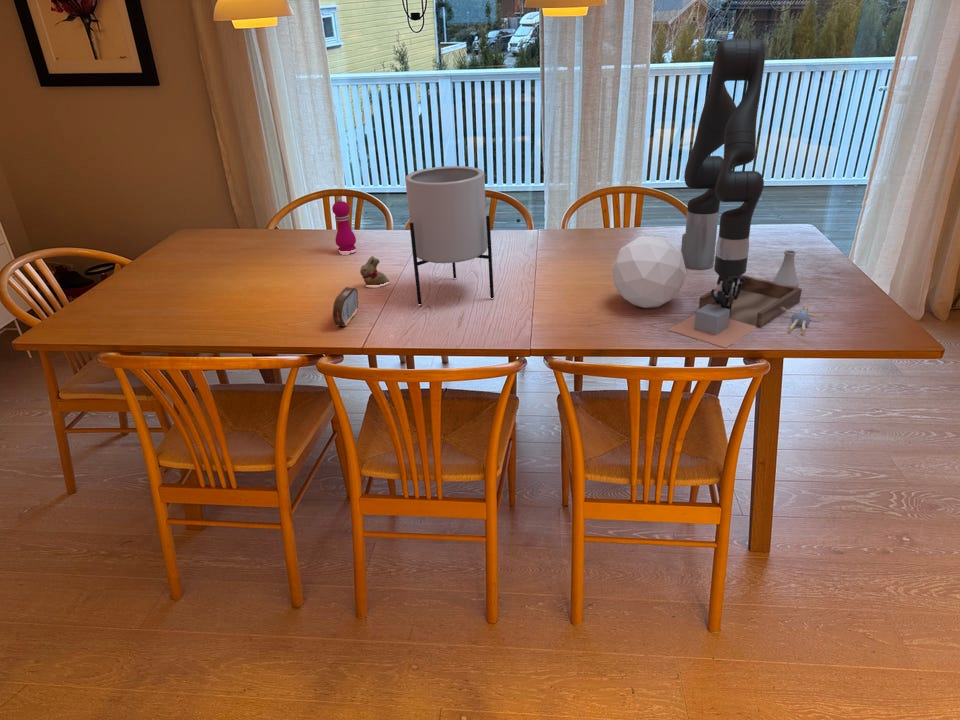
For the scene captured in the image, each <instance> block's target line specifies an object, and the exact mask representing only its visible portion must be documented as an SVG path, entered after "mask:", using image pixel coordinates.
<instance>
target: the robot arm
mask: <svg viewBox="0 0 960 720" xmlns="http://www.w3.org/2000/svg"><path fill="white" fill-rule="evenodd" d="M765 62H766V48H765V43H764V42H763V40H762V39H759V38H727V39H724V40H722V41H720V42H719V44H718V46H717V49H716V51H715V54H714V59H713V65H712V69H711V74H710V75H711V76H710V80H709V84H708V91H707V95H706V98H705V101H704V104H703V109H702V111H701V115H700V117H699V122H698V127H697V131H696V136H695V139H694V143H693V146H692V148H691V151H690V154H689V156H688V159H687V162H686V164H685V168H684V176H683V177H684V178H683V179H684V183H685V186H686V187H687V188H690V189H695V190H696V189H697V190H698V189H707V190H706V191H705V192H704V193H703V194H700V195H699V196H695V197H694V198H691V199H690V200H688V201H687V209H686V221H685V233H682V237H681V245H680V247H681V249H680V251H681V252H682V255H683V260H684V264H685V268H688V269H691V270H692V269H693V270H705V269H706V270H707V269H710V268H712V267H713V269H714V272H715V273H716V274H717V275H718V278H717V282H716V285H717V286H716V288H714V289H716V290H714V289H713V288H712V290H710V291H711V294H712V296H713V299H714V301H715V303H716V304H718V305H721V307H723V308H726V309H730V315H731V307H732V304H733V303H734V300H737V298H738V295H739V293H740V291H741V289H742V286H743V284H744V282H745V278H741V277H740V276H741V275H744V274H746V273H747V268H748V267H747V266H748V260H749V259H748V258H749V251H750V232H751V225H752V224H751V223H752V218H753V216H754V213H755V209H756V208H757V207H756V206H757V205H758V202H759V200H760V198H761V196H762V193H763V190H764V185H765V179H764V177H763V175H762V173H760V172H759V171H757V170H739V171H738V170H736V171H735V170H734V171H733V169H735V168H736V167H740V166H744V165H747V164H750V163H752V162H753V161H754V160H755V158H756V154H757V153H756V150H757V149H756V146H757V145H756V144H757V143H756V142H757V141H756V140H757V120H758V112H759V105H760V99H761V93H762V85H763V77H764V71H765V70H764V69H765ZM727 81H728V82H729V81H730V82H733V81H734V82H737V81H739V82H741V81H746V82H747V83H746V84H747V86H746V90H745V93H744V95H743V97H742V98H741V101H739V103H738V104H737V105H736V103H735V101H734V99H733V98H732V97H731V95H730V93H729V92H728V89H727V87H726V84H725V83H726V82H727ZM721 147H723V156H720V155H711V154H713V153H714V152H716V151H717V150H718V149H720V148H721ZM721 202H722V203H723V202H724V203H742V204H741V205H740V206H738V207H737V208H733V209H732V208H731V209H729V210H725V211H723V212H722V214H721V215H720V205H721ZM719 215H720V218H719ZM718 224H719V229H718ZM717 233H718V237H717ZM730 315H729V317H730Z"/></svg>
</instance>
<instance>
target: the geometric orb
mask: <svg viewBox="0 0 960 720" xmlns="http://www.w3.org/2000/svg"><path fill="white" fill-rule="evenodd" d="M686 269H687V267H686V266H685V264H684V260H683V255H682V252H681V249H679V248H677V247H676V246H675V245H673V244H672V243H671V242H670V241H669V240H667V239H666V238H665V237H663V236H659V237H658V236H644V235H642V236H641V235H640V236H638V237H637V238H635V239H633V240H632V241H631V242H629V243H627V244H626V245H624V246H622V247H621V248H620V250H619V251H618V254H617V256H616V259H615V262H614V264H613V266H612V278H613V279H612V280H613V284H614V287H615V289H616V290H617V292H618V293H619V294H620V295H621V296H622V297H623V298H624V300H626V301H627V302H629V303H630V304H632V305H634V306H636V307H640V308H646V309H647V308H650V309H651V308H659V307H661V306H662V305H664V304H666V303H667V302H669V301H672V300H673V299H674V298H676V297H678V296H679V293H680V291H681V289H682V286H683V285H684V283H685V280H686V279H687V278H686V277H687V276H688V273H687V270H686Z"/></svg>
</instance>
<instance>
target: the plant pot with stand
mask: <svg viewBox="0 0 960 720" xmlns="http://www.w3.org/2000/svg"><path fill="white" fill-rule="evenodd" d="M404 182H405V188H406V198H407V205H408V207H407V208H408V215H409V232H410V241H411V242H410V243H411V249H412V259H413V260H412V261H413V270H414V277H415V287H416V297H417V305H418V304H422V293H421V284H420V275H419V266H421V265H425V264H427V263H434V264H452V265H451V266H452V274H453V275H452V276H453V279H454V278H456V279H457V270H456V269H457V268H456V263H462V262H466V261H471V260H474V259H485V260H486V259H487V260H488V262H487V263H488V274H489V275H488V277H489V279H488V281H489V296H490V297H491V298H493V297H494V298H495V293H494V273H493V272H494V269H493V251H492V236H491V234H492V233H491V232H492V231H491V217H490V216H491V215H487V208H486V207H487V206H486V205H487V203H486V187H485V186H486V185H485V183H486V182H485V172H484V170H483V169H481V168H478V167H474V166H467V165H466V166H465V165H446V166H445V165H444V166H434V167H429V168H423V169H419V170H414V171H413V172H410V173H408V174H407V175H406V176H405V180H404ZM486 251H487V254H485V252H486ZM418 259H419V261H418ZM422 305H423V304H422Z"/></svg>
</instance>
